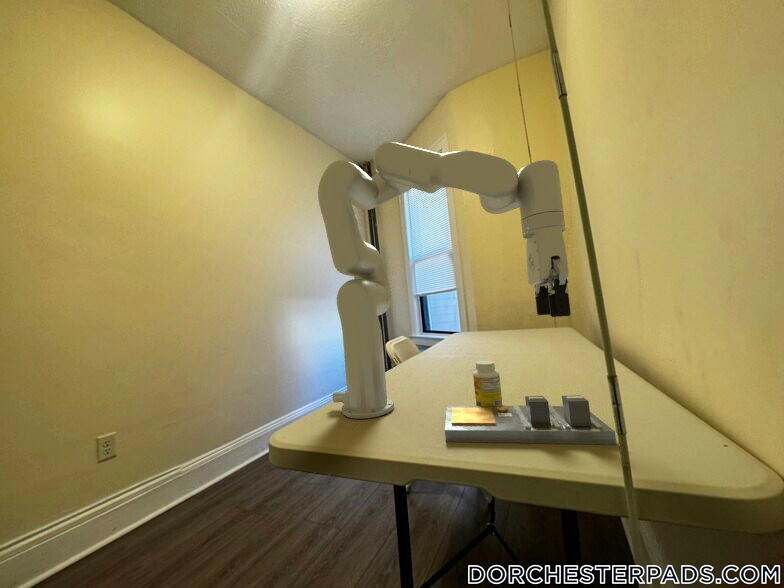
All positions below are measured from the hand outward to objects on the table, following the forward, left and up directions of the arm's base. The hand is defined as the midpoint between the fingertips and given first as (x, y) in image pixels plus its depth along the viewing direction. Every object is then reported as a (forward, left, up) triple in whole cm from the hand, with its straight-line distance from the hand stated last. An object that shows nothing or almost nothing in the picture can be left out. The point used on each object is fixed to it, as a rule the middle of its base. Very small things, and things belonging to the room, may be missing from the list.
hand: (552, 315), depth 56 cm
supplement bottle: (-13, +6, -20) cm, 25 cm away
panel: (-9, -4, -20) cm, 22 cm away
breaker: (0, -7, -18) cm, 19 cm away
